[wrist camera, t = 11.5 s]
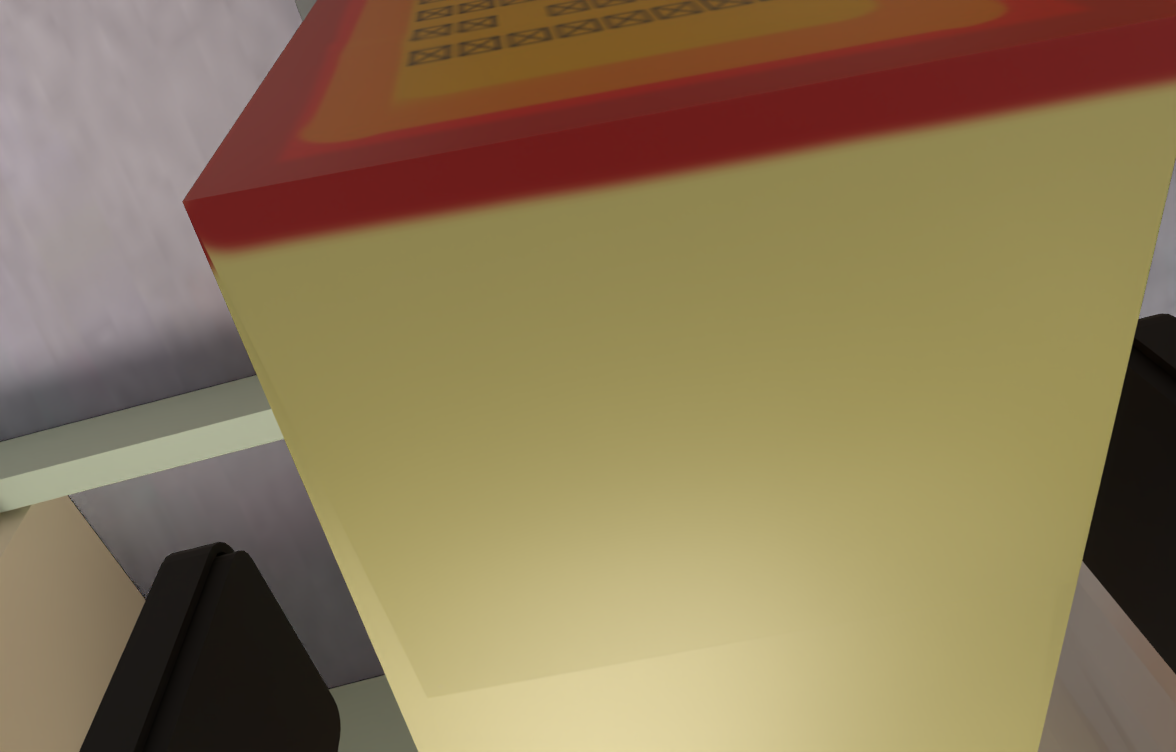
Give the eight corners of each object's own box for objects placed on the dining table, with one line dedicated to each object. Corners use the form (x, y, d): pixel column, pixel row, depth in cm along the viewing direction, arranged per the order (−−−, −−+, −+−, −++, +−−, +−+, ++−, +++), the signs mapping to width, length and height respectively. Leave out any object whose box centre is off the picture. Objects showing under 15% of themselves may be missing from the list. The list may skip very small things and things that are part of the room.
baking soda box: (712, 264, 24) (1038, 853, 11) (472, 309, 24) (497, 966, 10) (681, -140, 19) (1254, 23, 5) (373, -85, 18) (167, 227, 5)
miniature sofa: (672, 266, 25) (820, 585, 15) (737, 608, 33) (862, 965, 23) (-86, 464, 25) (-444, 907, 15) (162, 754, 33) (36, 1169, 23)
